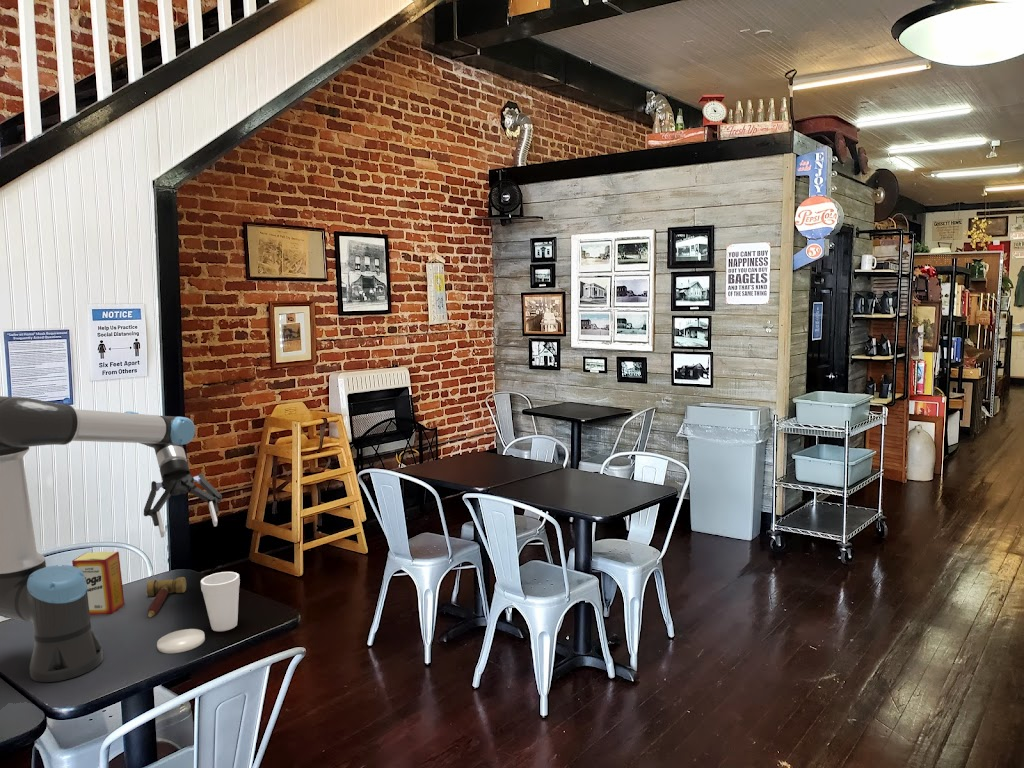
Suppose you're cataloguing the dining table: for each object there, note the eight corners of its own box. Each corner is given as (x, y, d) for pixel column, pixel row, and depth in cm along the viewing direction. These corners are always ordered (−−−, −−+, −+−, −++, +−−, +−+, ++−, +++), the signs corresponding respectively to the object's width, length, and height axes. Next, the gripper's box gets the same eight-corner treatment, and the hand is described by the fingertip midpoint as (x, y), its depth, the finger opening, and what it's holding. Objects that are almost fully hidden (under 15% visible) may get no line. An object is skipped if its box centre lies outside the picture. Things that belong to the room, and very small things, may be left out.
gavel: (168, 606, 212) (129, 610, 210) (170, 621, 213) (131, 626, 211) (185, 574, 232) (149, 577, 230) (187, 588, 233) (151, 592, 231)
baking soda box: (78, 615, 216) (71, 559, 214) (92, 605, 222) (85, 551, 220) (112, 614, 216) (105, 558, 214) (124, 604, 222) (118, 550, 220)
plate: (177, 656, 188) (176, 652, 188) (147, 648, 193) (147, 643, 193) (214, 638, 197) (214, 633, 197) (185, 630, 203) (184, 626, 202)
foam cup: (251, 621, 206) (246, 574, 205) (225, 636, 198) (220, 587, 196) (224, 616, 210) (219, 570, 209) (197, 630, 202) (192, 582, 200)
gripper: (217, 465, 231) (235, 526, 221) (125, 481, 218) (139, 546, 208) (220, 450, 226) (238, 512, 216) (125, 465, 213) (139, 532, 202)
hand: (189, 529), depth 212 cm, fingers open, 13 cm apart
